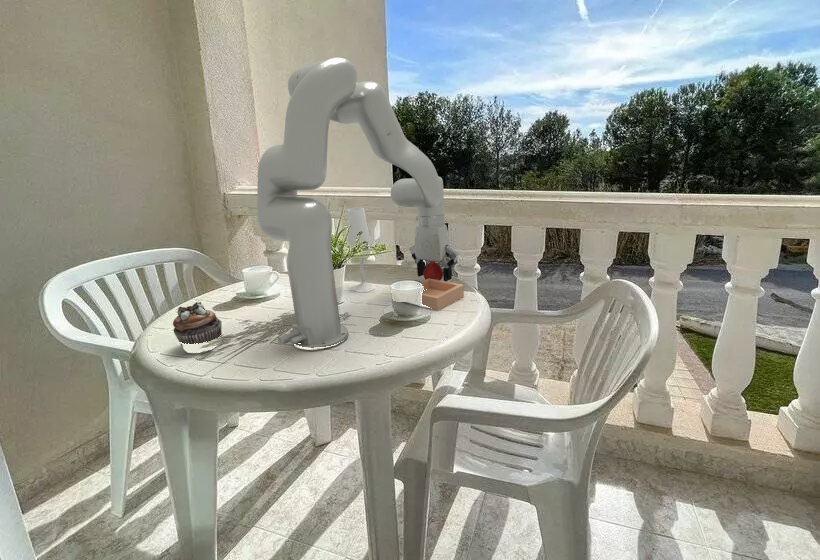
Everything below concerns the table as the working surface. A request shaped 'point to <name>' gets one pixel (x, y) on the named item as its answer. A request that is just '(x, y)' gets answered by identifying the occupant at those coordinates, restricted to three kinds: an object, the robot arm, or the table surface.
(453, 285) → the tray
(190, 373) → the table surface
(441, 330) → the table surface
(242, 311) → the table surface
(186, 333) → the cupcake
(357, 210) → the white table lamp
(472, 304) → the table surface
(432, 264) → the onion
